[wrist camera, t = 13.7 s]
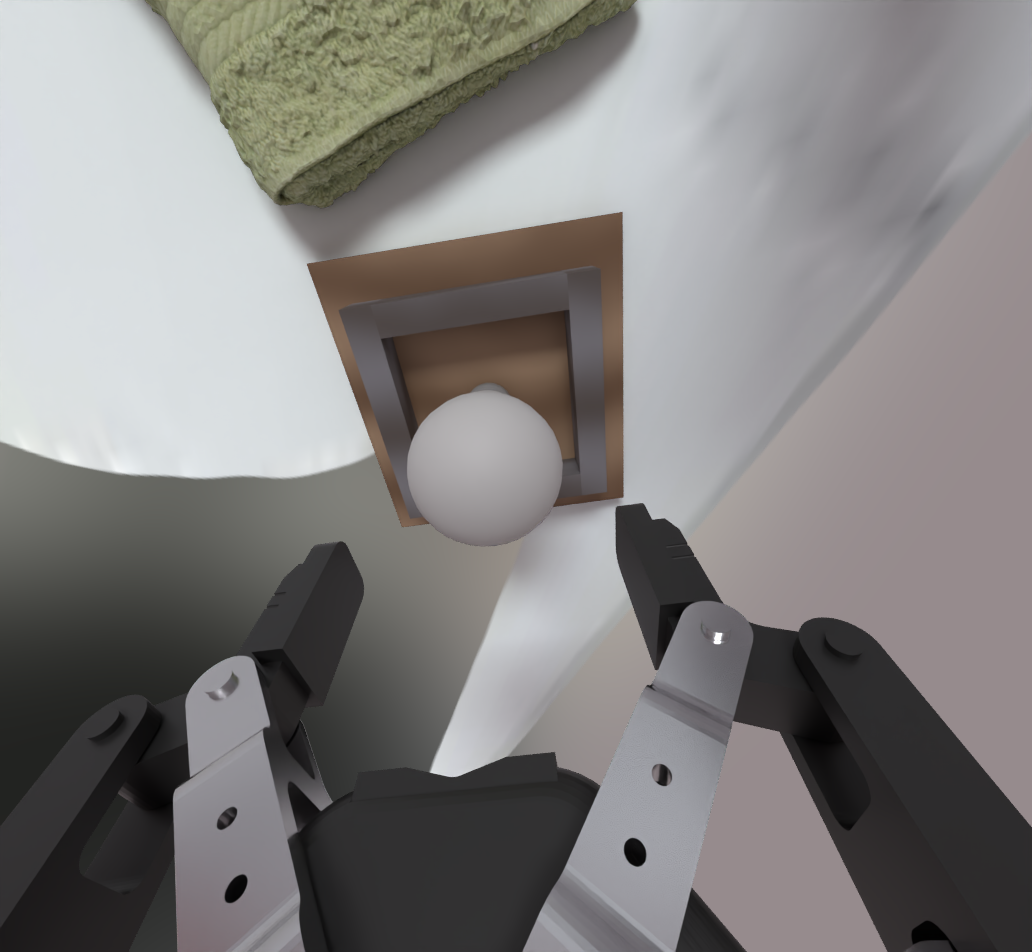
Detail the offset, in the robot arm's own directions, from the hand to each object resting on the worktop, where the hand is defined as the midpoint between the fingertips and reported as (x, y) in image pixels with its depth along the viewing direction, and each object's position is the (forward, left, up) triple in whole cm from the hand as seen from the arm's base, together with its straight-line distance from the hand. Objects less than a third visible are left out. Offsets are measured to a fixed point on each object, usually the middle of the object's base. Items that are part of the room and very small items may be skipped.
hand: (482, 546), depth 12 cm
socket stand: (0, 0, -14) cm, 14 cm away
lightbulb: (0, 0, -13) cm, 13 cm away
